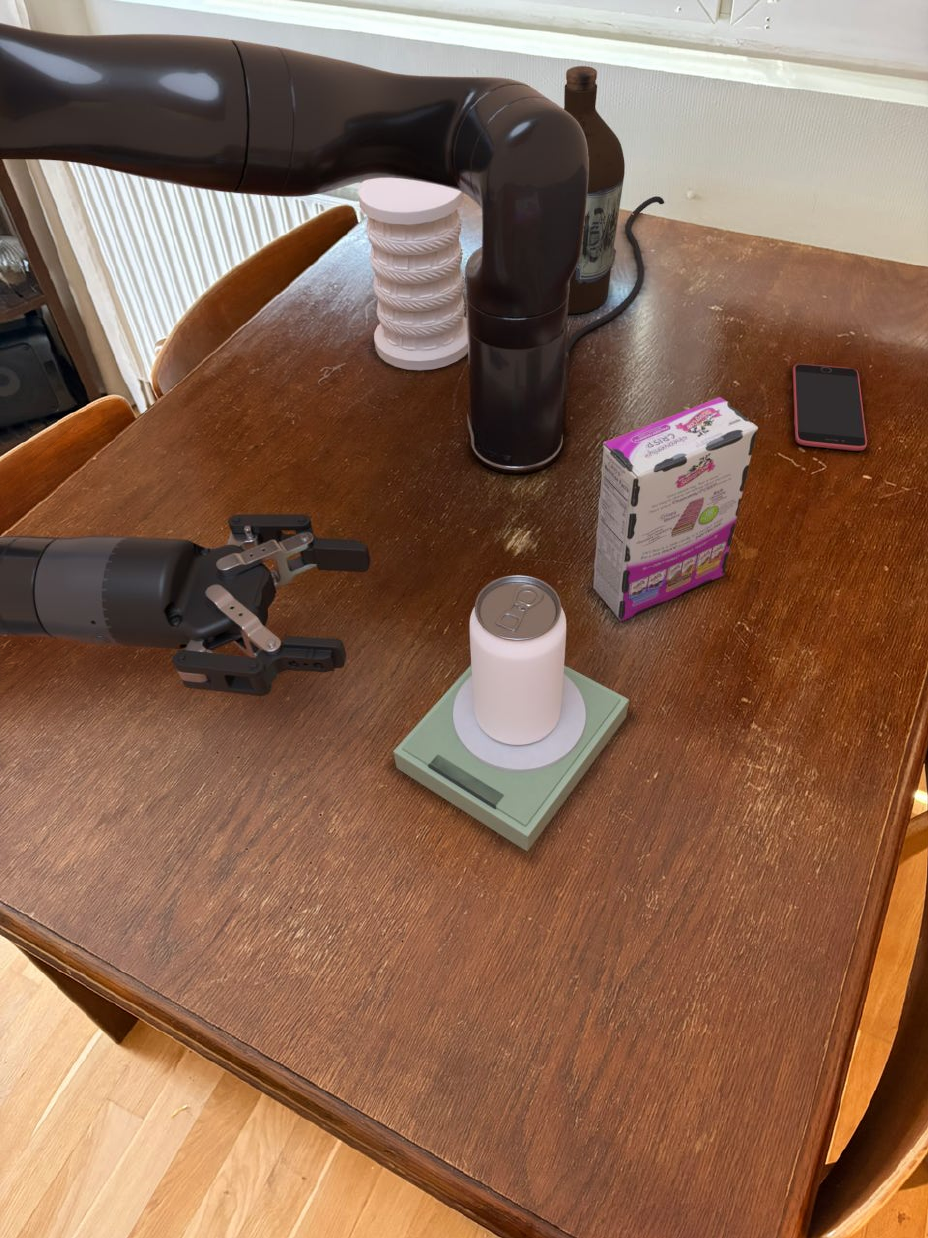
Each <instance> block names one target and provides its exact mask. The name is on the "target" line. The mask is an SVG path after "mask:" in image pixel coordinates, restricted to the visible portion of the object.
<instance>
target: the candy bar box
mask: <svg viewBox="0 0 928 1238" xmlns="http://www.w3.org/2000/svg"><path fill="white" fill-rule="evenodd" d="M758 430H759V427H758V426H757V425H756V424H755V423H754V422H752V421H751V420H750V419H749V418H747V417H745V416H744V415H743V414H742V413H740V411H738V410H737V409H736V408H734V407H732V406H731V404H730V402H728V401H727V400H726V399H724V398H722V397H721V396H718V397H716V398H713V399H710V400H708V401H706V402H703V403H701V404H697V405H695V406H693V407H690V408H688V409H685V410H682V411H681V412H677V413H676V414H673V415H670V416H668V417H665V418H662V419H660V420H657V421H655V422H652V423H649V424H647V425H645V426H642V427H639V428H637V429H634V430H631V431H629V432H626V433H624V434H622V435H621V434H620V435H618V436H616V437H613V438H611V439H608V440H606V441H603V442H602V453H601V465H600V480H599V481H600V482H599V494H598V511H597V520H596V521H597V522H596V535H595V537H596V538H595V550H594V562H593V574H592V575H593V576H592V590H594V592H595V593H596V594H597V596H598V597H599V598H600V599H601V600H602V601H603V602H604V604H606V605H607V607H608V608H609V610H610V611H611V612H612V614H614V616H615V617H616V618H617V619H618V620H619V621H620V622H624V621H626V620H628V619H629V620H630V619H631V618H633V617H636V616H638V615H639V614H642V613H644V612H646V611H649V610H650V609H652V608H656V607H657V606H659V605H662V604H664V603H666V602H668V601H670V600H672V599H675V598H676V597H679V596H681V595H683V594H686V593H688V592H690V591H692V590H694V589H697V588H699V587H701V586H703V585H706V584H708V583H710V582H712V581H715V580H717V579H719V578H721V577H723V576H724V575H725V569H726V566H727V562H728V557H729V552H730V549H731V545H732V540H733V535H734V531H735V527H736V522H737V520H738V516H739V515H738V514H739V509H740V504H741V500H742V497H743V493H744V489H745V485H746V484H745V483H746V482H747V481H746V480H747V477H748V471H749V467H750V463H751V459H752V455H753V450H754V445H755V442H756V437H757V433H758Z"/></svg>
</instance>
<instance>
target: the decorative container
mask: <svg viewBox="0 0 928 1238" xmlns="http://www.w3.org/2000/svg"><path fill="white" fill-rule="evenodd" d="M357 190H358V191H357V193H358V194H357V195H358V196H357V197H358V203H359V208H360V209H361V211H362V213H363V214H365V215H366V216H367V220H366V226H365V232H366V236H367V238H368V241H369V242H370V244H371V249H370V253H369V262H370V265H371V268H372V271H374V277H373V283H372V284H373V291H374V293H375V296H376V298H377V303H376V304H377V305H376V315H377V318H378V319H377V320H378V322H379V323H378V324H377V326H376V328H375V330H374V333H373V341H374V348H375V351H376V353H377V355H378V357H379V358H380V359H382V360H383V361H384V362H385V363H387V364H389V365H390V366H393V367H396V368H400V369H403V370H409V371H428V370H429V371H430V370H435V369H439V368H443V367H447V366H450V365H452V364H454V363H456V362H458V361H460V360H461V359H463V358H464V357H465V356H466V355H468V337H467V317H465V313H466V302H465V300H464V296H463V290H464V287H465V276H463V275H464V273H463V270H462V269H461V265H462V261H463V255H464V252H463V251H464V250H463V248H462V243H461V242H460V235H461V232H462V227H461V226H462V219H461V215H460V212H459V208H461V206H462V205H463V201H464V193H463V192H461V191H459V190H456V189H453V188H449V187H446V186H442V185H437V184H432V183H427V182H421V181H415V180H408V179H400V178H376V179H369V180H365V181H361V182H360V185H359V187H358V189H357Z"/></svg>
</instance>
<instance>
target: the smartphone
mask: <svg viewBox="0 0 928 1238" xmlns="http://www.w3.org/2000/svg"><path fill="white" fill-rule="evenodd" d="M861 390H862V389H861V381H860V373H859V371H858V370H857V369H855V368H852V367H844V366H834V365H833V366H832V365H820V364H808V363H797V364H795V365H794V366H793V367H792V391H793V392H792V394H793V419H794V420H793V425H794V440H795V442H796V443H797V444H799V445H801V446H805V447H814V448H824V449H825V448H826V449H833V450H844V451H852V452H853V451H854V452H861V451H864V450H866V448H867V446H868V437H867V430H866V422H865V421H866V420H865V415H864V406H863V405H864V404H863V399H862V397H863V396H862V391H861Z"/></svg>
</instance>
